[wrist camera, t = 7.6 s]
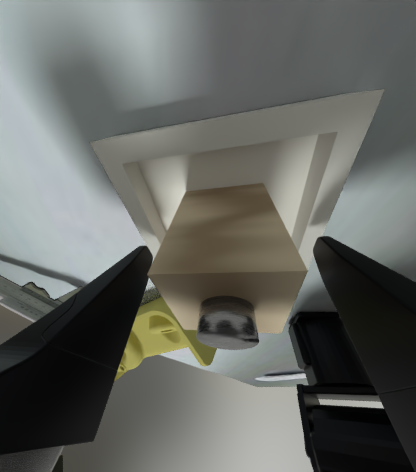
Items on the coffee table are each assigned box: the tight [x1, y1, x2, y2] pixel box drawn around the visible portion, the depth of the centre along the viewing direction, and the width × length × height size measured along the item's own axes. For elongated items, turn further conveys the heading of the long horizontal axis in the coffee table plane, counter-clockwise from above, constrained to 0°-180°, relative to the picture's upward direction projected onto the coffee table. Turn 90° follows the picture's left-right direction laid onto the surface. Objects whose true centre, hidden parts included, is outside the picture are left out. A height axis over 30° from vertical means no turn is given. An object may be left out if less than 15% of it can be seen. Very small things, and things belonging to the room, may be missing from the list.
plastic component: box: [114, 297, 217, 381], centre depth 23 cm, size 20×7×10 cm
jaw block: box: [147, 183, 308, 350], centre depth 8 cm, size 4×4×7 cm
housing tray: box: [90, 89, 385, 270], centre depth 10 cm, size 11×11×2 cm
